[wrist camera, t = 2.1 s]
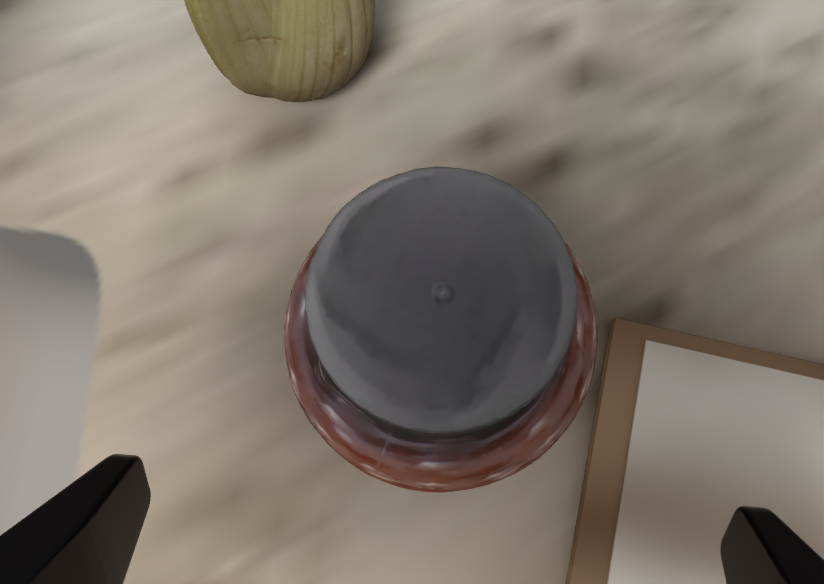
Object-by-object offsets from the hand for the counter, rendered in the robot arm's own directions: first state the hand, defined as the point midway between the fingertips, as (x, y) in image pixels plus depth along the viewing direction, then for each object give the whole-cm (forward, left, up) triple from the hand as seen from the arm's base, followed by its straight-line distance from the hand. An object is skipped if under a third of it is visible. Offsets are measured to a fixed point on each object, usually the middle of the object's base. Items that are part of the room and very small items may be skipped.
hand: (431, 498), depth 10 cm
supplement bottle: (+3, 0, -10) cm, 11 cm away
